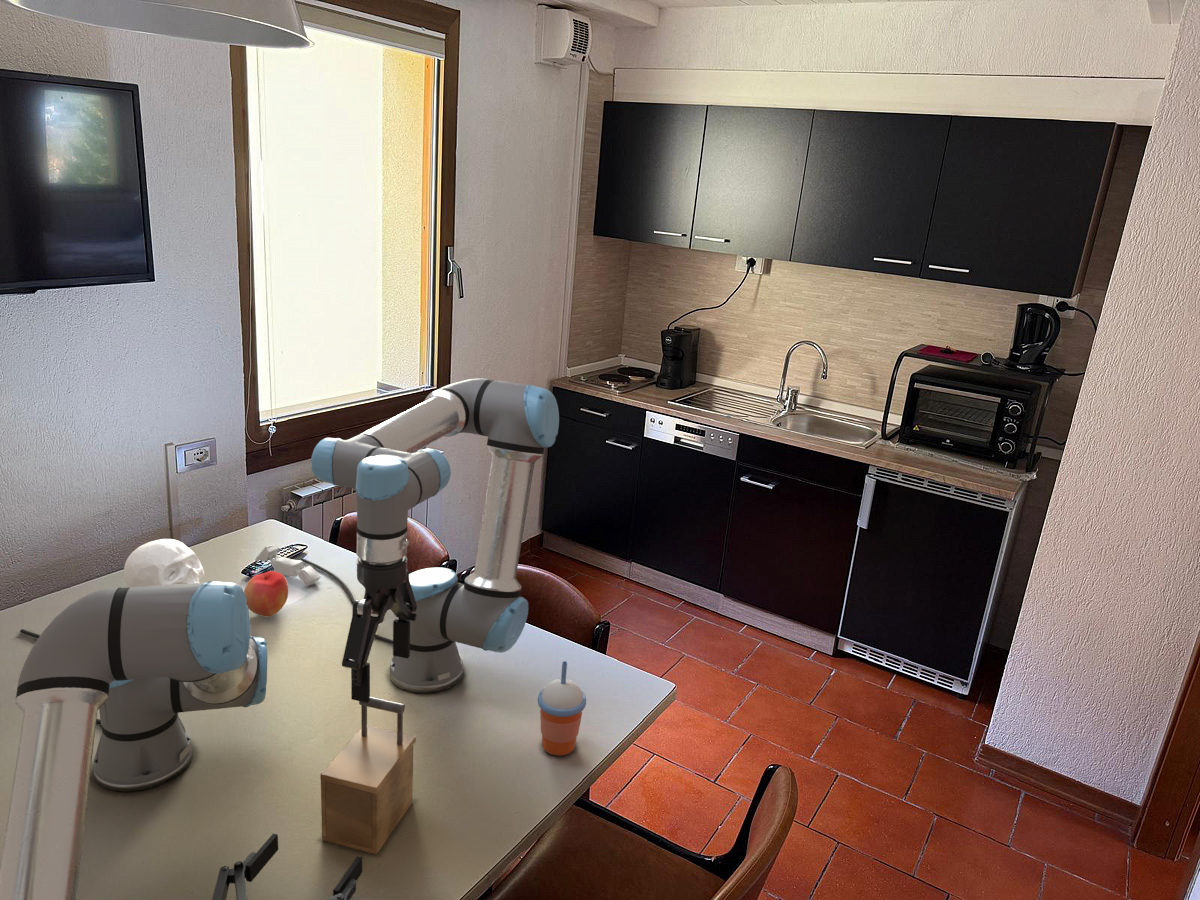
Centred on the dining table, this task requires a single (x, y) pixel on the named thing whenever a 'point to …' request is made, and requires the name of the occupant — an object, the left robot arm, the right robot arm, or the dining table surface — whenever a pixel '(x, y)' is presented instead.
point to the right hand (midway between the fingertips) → (381, 677)
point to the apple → (266, 593)
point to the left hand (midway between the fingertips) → (317, 852)
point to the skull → (162, 564)
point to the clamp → (288, 565)
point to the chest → (366, 810)
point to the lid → (370, 752)
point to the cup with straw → (560, 714)
